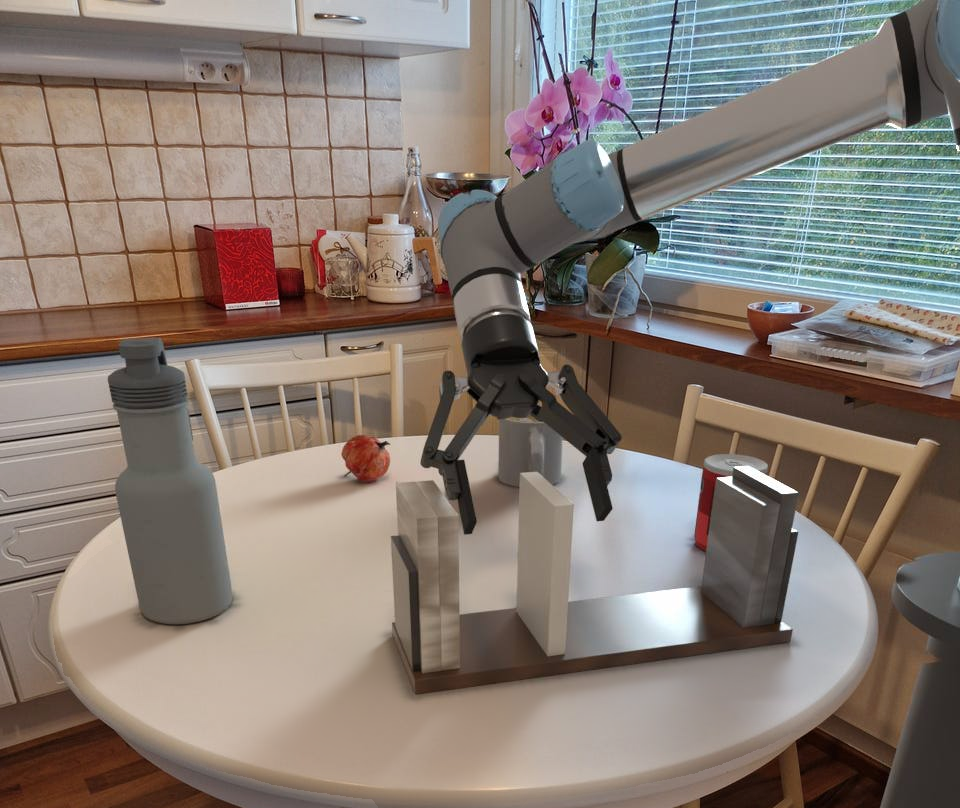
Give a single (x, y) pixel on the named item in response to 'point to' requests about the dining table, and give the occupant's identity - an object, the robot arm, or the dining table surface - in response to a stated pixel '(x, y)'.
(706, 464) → the canned food
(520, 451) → the coffee mug
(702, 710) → the dining table surface
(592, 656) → the book shelf
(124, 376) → the water bottle
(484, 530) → the dining table surface
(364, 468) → the pomegranate
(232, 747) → the dining table surface
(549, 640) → the white book
